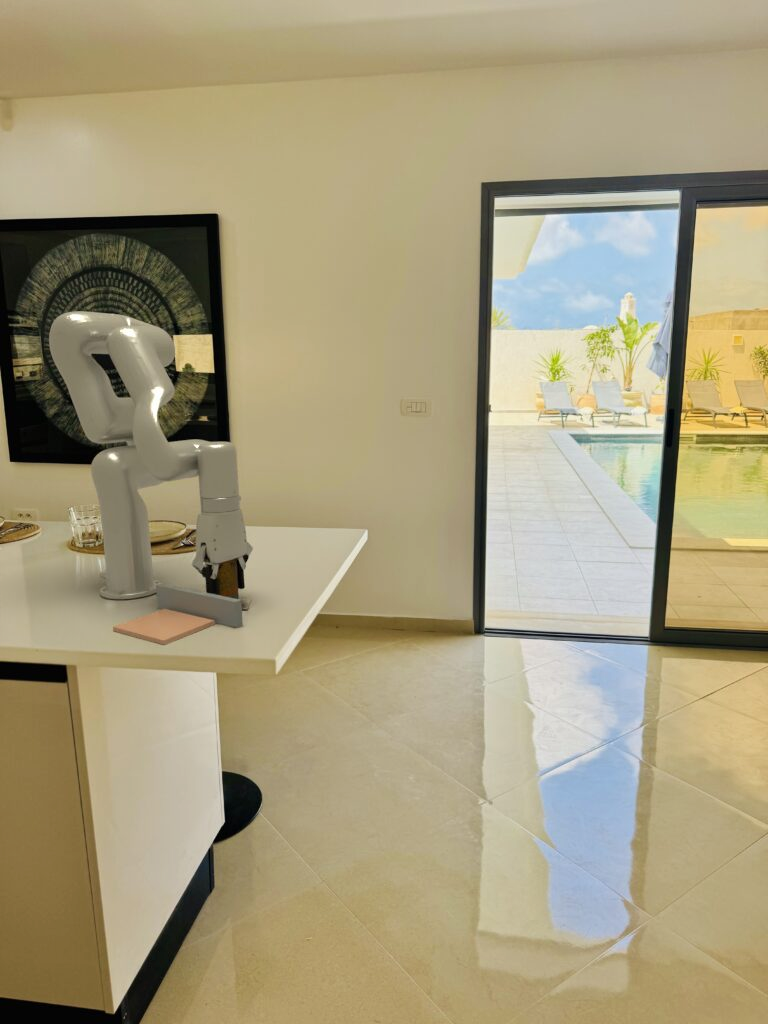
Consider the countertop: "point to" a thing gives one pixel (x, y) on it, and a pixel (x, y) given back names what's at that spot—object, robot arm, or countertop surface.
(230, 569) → the condiment
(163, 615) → the tile pad
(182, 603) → the low wall
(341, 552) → the countertop surface
